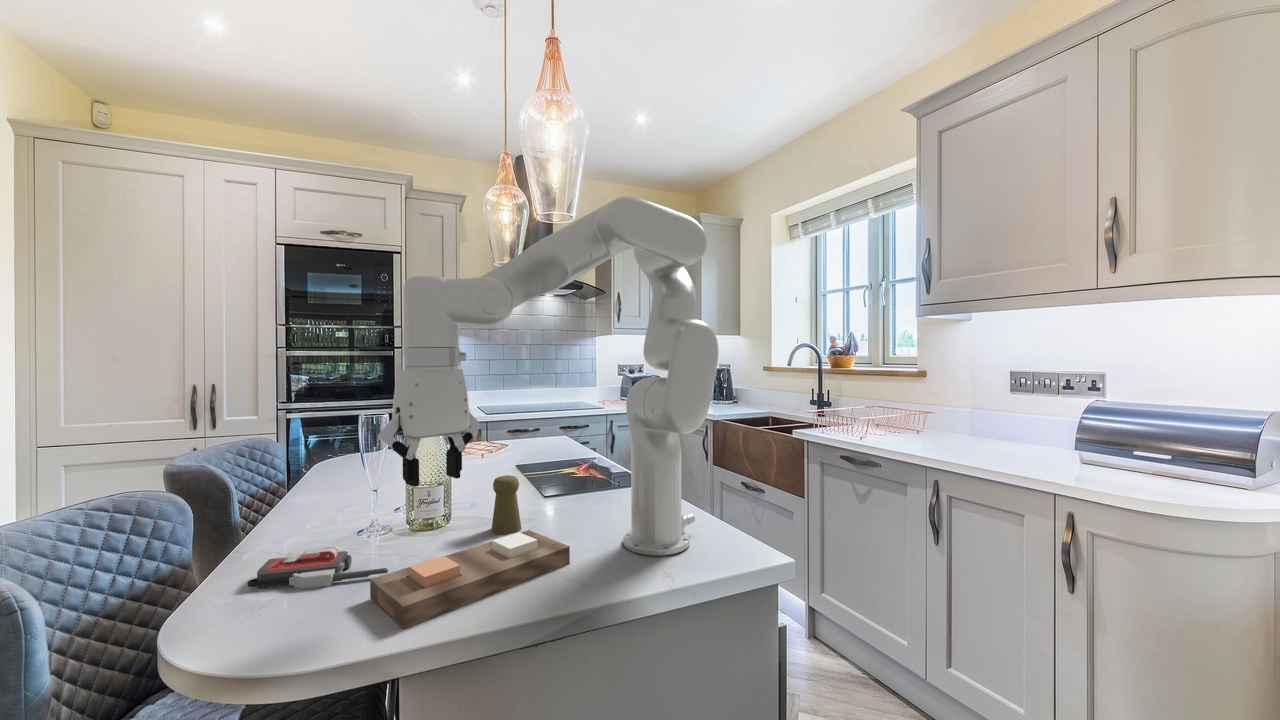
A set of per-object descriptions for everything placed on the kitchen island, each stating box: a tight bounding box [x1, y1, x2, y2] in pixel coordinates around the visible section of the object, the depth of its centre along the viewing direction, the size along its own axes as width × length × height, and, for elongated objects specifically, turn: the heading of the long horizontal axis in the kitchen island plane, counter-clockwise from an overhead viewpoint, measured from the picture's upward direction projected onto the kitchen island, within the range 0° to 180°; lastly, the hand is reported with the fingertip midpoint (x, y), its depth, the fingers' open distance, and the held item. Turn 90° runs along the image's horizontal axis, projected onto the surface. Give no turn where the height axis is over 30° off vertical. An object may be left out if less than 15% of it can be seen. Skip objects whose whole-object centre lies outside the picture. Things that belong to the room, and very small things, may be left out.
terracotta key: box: [408, 555, 460, 589], centre depth 76 cm, size 5×5×2 cm
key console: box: [369, 529, 571, 630], centre depth 81 cm, size 28×12×3 cm, turn 137°
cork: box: [491, 474, 522, 536], centre depth 105 cm, size 6×6×11 cm
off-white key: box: [491, 531, 537, 559], centre depth 86 cm, size 5×5×2 cm
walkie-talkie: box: [247, 546, 389, 590], centre depth 83 cm, size 9×4×20 cm
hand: (433, 479), depth 76 cm, fingers open, 5 cm apart
